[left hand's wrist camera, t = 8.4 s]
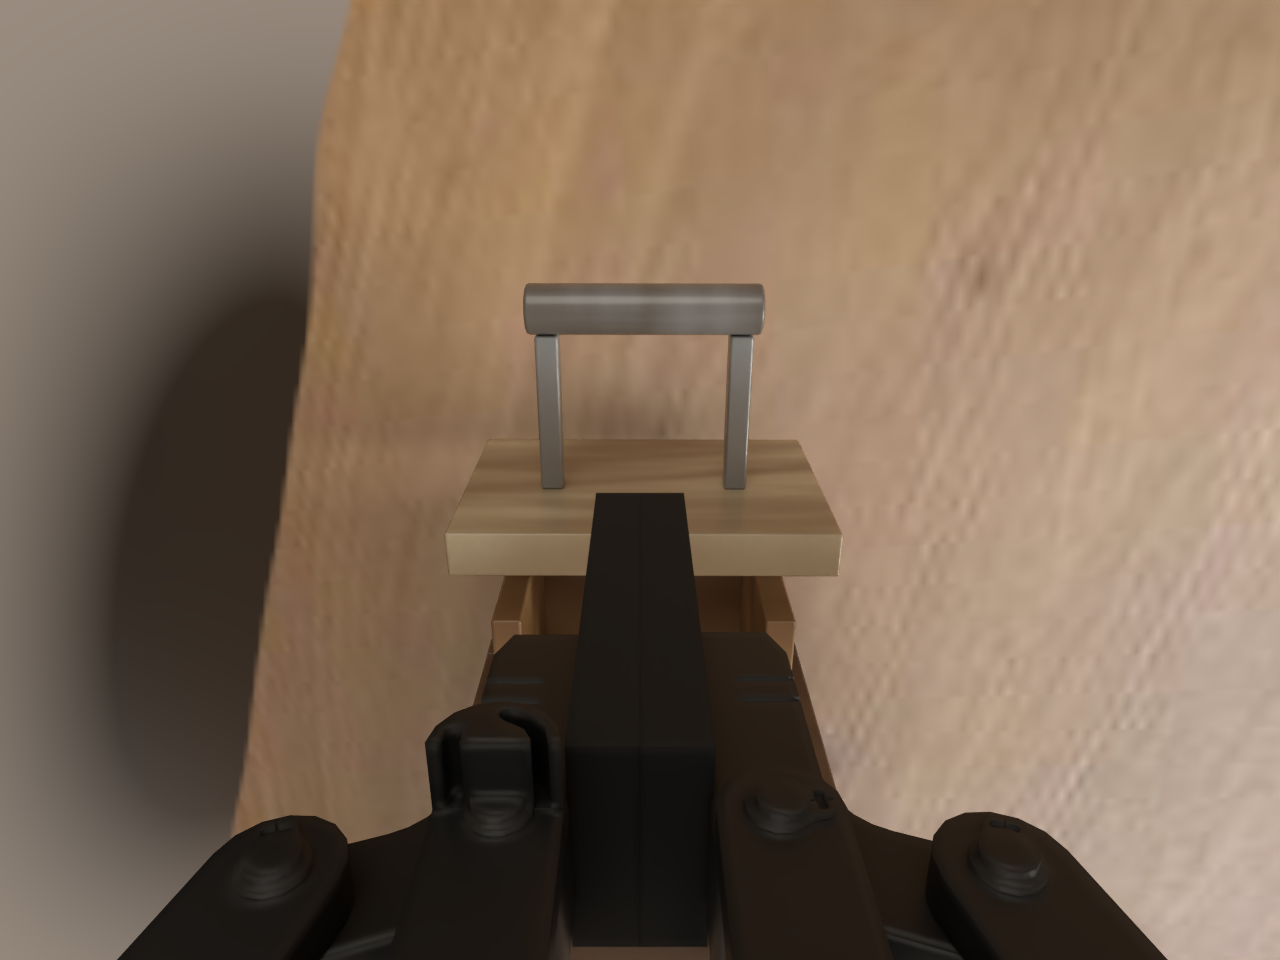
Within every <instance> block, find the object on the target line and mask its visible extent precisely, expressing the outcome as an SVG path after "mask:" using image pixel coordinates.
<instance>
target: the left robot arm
mask: <svg viewBox="0 0 1280 960" xmlns="http://www.w3.org/2000/svg"><path fill="white" fill-rule="evenodd" d="M425 748H426V756H427V765H428V774H429V783H430V791H431V800H432V809H433V810H432V813H431V815H429V816H428V817H427V818H425V819H423V820H421V821H419V822H417V823H416V824H414V825H412V826H410V827H408V828H405V829H402V830H399V831H396V832H393V833H390V834H387V835H383V836H379V837H375V838H371V839H367V840H363V841H359V842H355V843H351V844H348V842H347V838H346V837H345V836H344V834H343V833H342V832H341V831H340V829H339V828H338V827H337V826H336V824H334V823H331V822H329V821H326V820H324V819H321V818H319V817H316V816H294V815H290V816H286V817H281V818H277V819H273V820H269V821H264V822H261V823H259V824H257V825H255V826H253V827H251V828H249V829H247V830H245V831H243V832H241V833H239V834H237V835H235V836H234V837H233V838H232V839H231V840H229V841H228V842H227V843H226V844H225V845H223V846H222V847H221V848H220V849H219V850H217V851H216V852H215V853H214V854H213V855H212V856H211V857H210V858H209V859H208V860H207V861H206V863H205V864H204V865H203V866H202V867H201V868H200V869H199V870H198V871H197V872H196V874H195V875H194V876H193V877H192V878H191V879H190V880H189V881H188V882H187V883H186V885H185V886H184V887H183V888H182V889H181V890H180V891H179V892H178V893H177V894H176V896H175V897H174V898H173V899H172V900H171V901H170V902H169V903H168V904H167V905H166V907H165V908H164V909H163V910H162V911H161V912H160V913H159V914H158V915H157V917H156V918H155V919H154V920H153V921H152V922H151V923H150V924H149V925H148V926H147V928H146V929H145V930H144V931H143V932H142V933H141V934H140V935H139V936H138V937H137V938H136V940H135V941H134V942H133V943H132V944H131V945H130V946H129V947H128V948H127V950H126V951H125V952H124V953H123V954H122V955H121V956H120V957H119V958H118V959H117V960H570V955H571V943H572V946H573V947H707V946H708V939H709V951H710V960H1167V959H1166V957H1165V956H1164V955H1163V954H1162V953H1161V952H1160V951H1159V950H1158V949H1157V948H1156V947H1155V945H1154V944H1153V943H1152V942H1151V941H1150V940H1149V939H1148V938H1147V937H1146V936H1145V934H1144V933H1143V932H1142V931H1141V930H1140V929H1139V928H1138V927H1137V926H1136V925H1135V924H1134V922H1133V921H1132V920H1131V919H1130V918H1129V917H1128V916H1127V915H1126V914H1125V913H1124V912H1123V910H1122V909H1121V908H1120V907H1119V906H1118V905H1117V904H1116V903H1115V902H1114V901H1113V900H1112V898H1111V897H1110V896H1109V895H1108V894H1107V893H1106V892H1105V891H1104V890H1103V889H1102V887H1101V886H1100V885H1099V884H1098V883H1097V882H1096V881H1095V880H1094V879H1093V878H1092V877H1091V875H1090V874H1089V873H1088V872H1087V871H1086V870H1085V869H1084V868H1083V867H1082V866H1081V865H1080V863H1079V862H1078V861H1077V860H1076V859H1075V858H1074V857H1073V856H1072V855H1071V854H1070V852H1069V851H1068V850H1067V849H1065V848H1064V847H1063V846H1062V845H1061V844H1059V843H1058V842H1057V841H1056V840H1055V839H1053V838H1052V837H1051V836H1050V835H1049V834H1047V833H1046V832H1045V831H1043V830H1041V829H1039V828H1037V827H1035V826H1033V825H1030V824H1028V823H1026V822H1024V821H1022V820H1020V819H1018V818H1014V817H1010V816H1006V815H1001V814H997V813H993V812H972V813H963V814H961V815H958V816H956V817H953V818H951V819H948V820H946V821H945V822H944V823H943V824H942V825H941V827H940V828H939V829H938V830H937V832H936V833H935V834H934V836H933V841H931V840H927V839H923V838H919V837H915V836H911V835H907V834H903V833H899V832H895V831H891V830H888V829H885V828H882V827H879V826H876V825H873V824H871V823H869V822H867V821H865V820H863V819H861V818H860V817H858V816H856V815H854V814H853V813H851V812H850V811H849V810H848V809H847V807H846V805H845V803H844V802H843V800H842V798H841V797H840V795H839V793H838V791H837V790H836V789H834V788H833V787H832V786H831V785H829V784H828V783H827V782H826V781H824V780H823V778H822V775H821V771H820V768H819V764H818V761H817V757H816V754H815V750H814V747H813V743H812V740H811V736H810V733H809V729H808V726H807V722H806V719H805V715H804V712H803V708H802V705H801V702H799V694H798V691H797V687H796V684H795V681H794V679H793V673H792V670H791V666H790V663H789V659H788V656H787V653H786V652H785V651H784V650H783V649H782V648H781V647H780V646H779V645H778V644H777V643H776V642H775V641H774V640H773V639H772V638H771V637H770V636H769V635H768V634H767V633H766V632H701V626H700V618H699V610H698V602H697V594H696V586H695V578H694V570H693V562H692V554H691V546H690V538H689V530H688V522H687V514H686V506H685V498H684V493H596V498H595V506H594V514H593V522H592V530H591V538H590V546H589V554H588V562H587V570H586V578H585V586H584V594H583V602H582V610H581V618H580V626H579V634H578V635H513V636H512V637H511V638H510V639H509V640H508V641H507V642H506V643H505V644H504V645H503V646H502V647H501V648H500V649H499V650H498V651H497V652H496V653H495V654H494V656H493V659H492V663H491V666H490V670H489V673H488V677H487V684H485V687H484V691H483V694H482V698H481V704H477V705H474V706H471V707H469V708H466V709H463V710H460V711H458V712H455V713H453V714H452V715H451V716H449V717H448V718H446V719H445V720H444V721H442V722H441V723H439V724H438V725H437V726H436V727H435V728H434V730H433V731H432V733H431V734H430V736H429V737H428V739H427V740H426V742H425Z"/></svg>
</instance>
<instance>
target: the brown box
mask: <svg viewBox="0 0 1280 960" xmlns="http://www.w3.org/2000/svg"><path fill="white" fill-rule="evenodd" d="M493 656H494V650H493V638H492V640H491V643H490V647H489V650H488V655H487V658H486V662H485V665H484V669H483V672H482V676H481V679H480V683H479V686H478V690H477V693H476V697H475V701H474V704H473V706H474V705H477V704H481V698H482V694H483V691H484V687H485V684H487V677H488V673H489V670H490V666H491V663H492V659H493ZM792 673H793V679H794V681H795V684H796V687H797V691H798V694H799V702H801V705H802V708H803V712H804V715H805V719H806V722H807V726H808V729H809V733H810V736H811V740H812V743H813V747H814V750H815V754H816V757H817V761H818V764H819V768H820V771H821V775H822V778H823V780H824V781H826V782H827V783H828V784H829V785H831V786H832V787H833V788H834V789H836V787H835V783H834V780H833V776H832V773H831V769H830V766H829V762H828V759H827V755H826V752H825V748H824V745H823V741H822V738H821V734H820V731H819V727H818V724H817V720H816V717H815V713H814V710H813V706H812V703H811V699H810V696H809V692H808V689H807V685H806V682H805V678H804V675H803V671H802V668H801V664H800V661H799V657H798V653H797V650H796V646H795V643H794V651H793V662H792ZM570 960H710V951H709V939H708V946H707V947H573V946H572V943H571V955H570Z"/></svg>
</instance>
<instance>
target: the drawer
mask: <svg viewBox="0 0 1280 960" xmlns="http://www.w3.org/2000/svg"><path fill="white" fill-rule="evenodd" d="M523 313H524V324H525V329H526V332H527V333H528V334H530V335H536V336H535V339H534V340H535V361H536V381H537V402H538V423H539V439H490V440H488V442H487V444H486V446H485V449H484V451H483V453H482V455H481V457H480V459H479V461H478V464H477V466H476V468H475V470H474V472H473V474H472V477H471V479H470V481H469V483H468V485H467V487H466V490H465V492H464V494H463V496H462V498H461V500H460V503H459V505H458V507H457V509H456V511H455V513H454V515H453V518H452V520H451V522H450V524H449V526H448V528H447V531H446V533H445V544H446V554H447V564H448V573H449V575H498V576H505V577H504V580H503V584H502V587H501V591H500V594H499V598H498V601H497V604H496V608H495V611H494V615H493V618H492V621H491V625H492V638H493V650H494V654H495V653H496V652H497V651H498V650H499V649H500V648H501V647H502V646H503V645H504V644H505V643H506V642H507V641H508V640H509V639H510V638H511V637H512V636H513V635H578V634H579V626H580V618H581V610H582V602H583V594H584V586H585V578H586V570H587V562H588V554H589V546H590V538H591V530H592V522H593V514H594V506H595V498H596V493H684V498H685V506H686V514H687V522H688V530H689V538H690V546H691V554H692V562H693V570H694V578H695V586H696V594H697V602H698V610H699V618H700V626H701V632H766V633H767V634H768V635H769V636H770V637H771V638H772V639H773V640H774V641H775V642H776V643H777V644H778V645H779V646H780V647H781V648H782V649H783V650H784V651H785V652H786V653H787V656H788V659H789V663H790V666H791V670H792V662H793V651H794V639H795V628H796V621H795V618H794V614H793V611H792V608H791V604H790V601H789V598H788V594H787V591H786V588H785V584H784V581H783V578H782V576H838V575H839V569H840V560H841V550H842V541H843V534H842V532H841V530H840V528H839V526H838V524H837V521H836V519H835V517H834V515H833V513H832V511H831V509H830V507H829V505H828V502H827V500H826V498H825V496H824V494H823V492H822V490H821V488H820V486H819V483H818V481H817V479H816V477H815V475H814V473H813V471H812V469H811V467H810V464H809V462H808V460H807V458H806V456H805V454H804V452H803V450H802V447H801V445H800V443H799V441H798V440H748V435H749V417H750V399H751V381H752V362H753V344H754V339H753V336H752V335H759V334H761V333H762V330H763V327H764V320H765V292H764V288H763V285H761V284H630V283H529V284H526V286H525V289H524V297H523ZM560 335H729V338H728V361H727V384H726V407H725V430H724V440H563V417H562V390H561V362H560Z"/></svg>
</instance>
